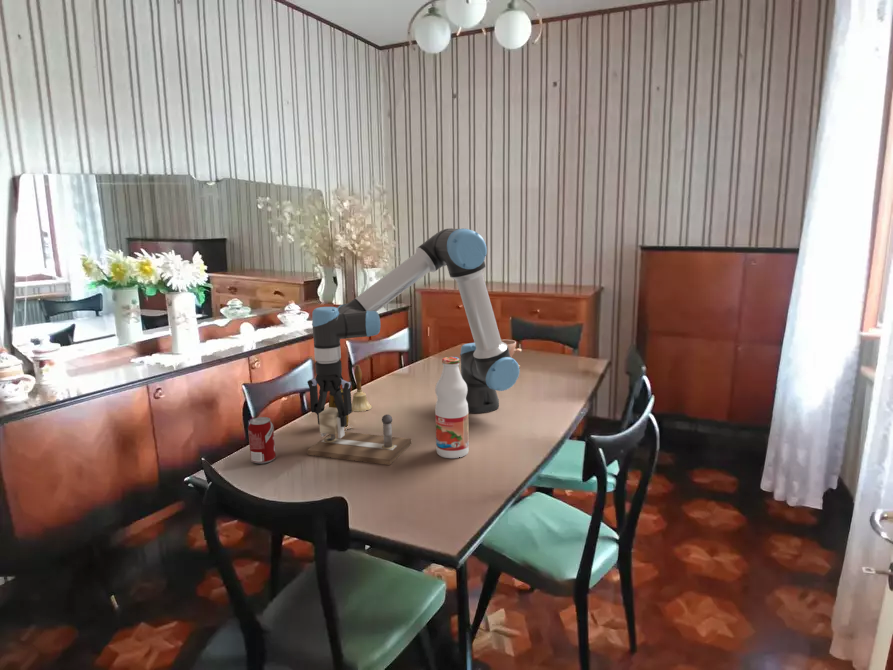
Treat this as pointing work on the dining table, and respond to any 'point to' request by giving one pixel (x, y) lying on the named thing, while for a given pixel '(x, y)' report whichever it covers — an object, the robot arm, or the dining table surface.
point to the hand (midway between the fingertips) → (332, 435)
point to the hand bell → (359, 394)
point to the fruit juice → (451, 411)
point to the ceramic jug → (512, 347)
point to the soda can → (261, 440)
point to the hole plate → (363, 446)
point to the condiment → (333, 404)
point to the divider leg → (329, 421)
